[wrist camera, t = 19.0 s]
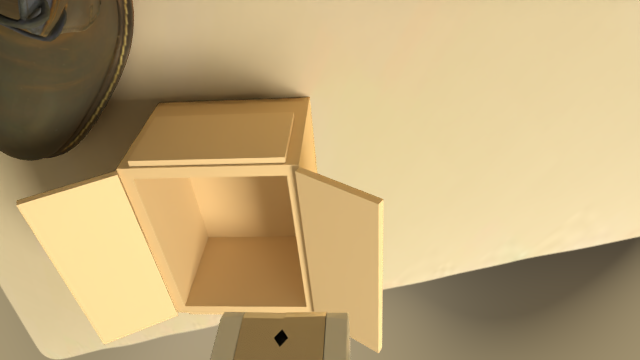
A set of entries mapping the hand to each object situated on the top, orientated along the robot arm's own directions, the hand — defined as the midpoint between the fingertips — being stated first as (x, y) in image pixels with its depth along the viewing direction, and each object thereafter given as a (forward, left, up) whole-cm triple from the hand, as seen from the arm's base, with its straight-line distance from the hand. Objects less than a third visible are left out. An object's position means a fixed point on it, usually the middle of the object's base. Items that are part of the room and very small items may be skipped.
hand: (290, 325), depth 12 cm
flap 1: (+16, +20, -21) cm, 33 cm away
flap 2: (+3, +20, -21) cm, 29 cm away
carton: (+10, +20, -31) cm, 38 cm away
